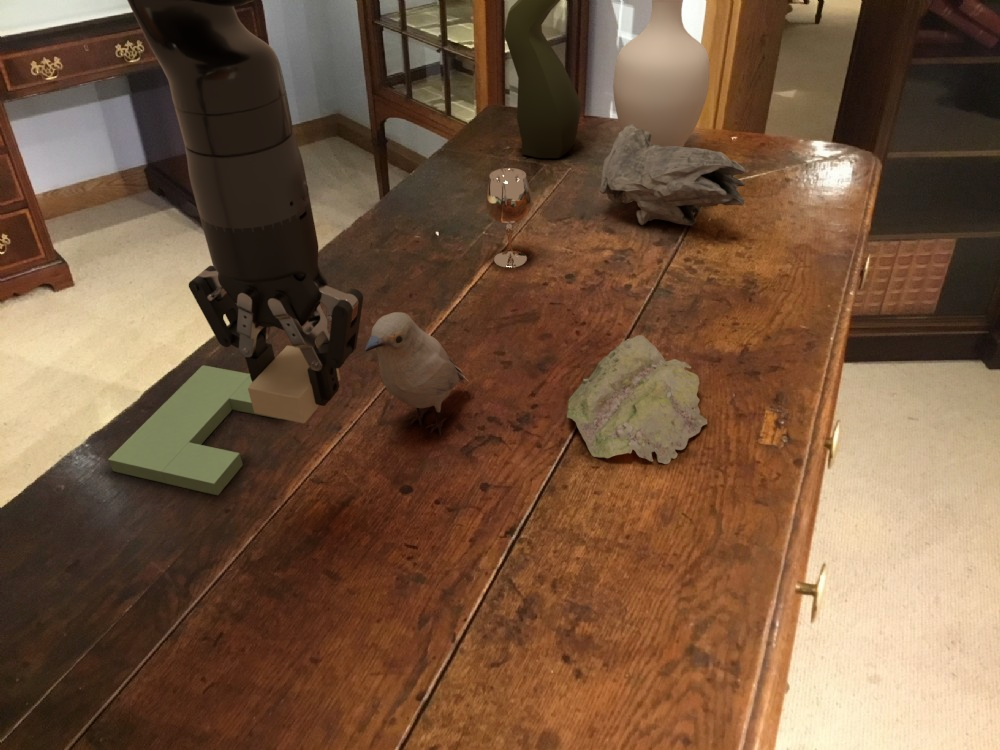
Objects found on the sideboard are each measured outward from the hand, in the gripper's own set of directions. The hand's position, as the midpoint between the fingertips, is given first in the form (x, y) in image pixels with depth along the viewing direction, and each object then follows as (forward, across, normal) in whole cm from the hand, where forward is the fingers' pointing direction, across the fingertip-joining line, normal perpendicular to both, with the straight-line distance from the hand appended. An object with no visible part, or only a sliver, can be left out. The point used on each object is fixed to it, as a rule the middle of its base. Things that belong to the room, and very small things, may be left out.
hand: (297, 392), depth 69 cm
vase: (+15, +13, +86) cm, 88 cm away
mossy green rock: (+15, +24, +23) cm, 36 cm away
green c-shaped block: (+14, -17, +7) cm, 24 cm away
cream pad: (0, 0, 0) cm, 0 cm away
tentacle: (+15, -6, +86) cm, 88 cm away
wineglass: (+15, +1, +50) cm, 52 cm away
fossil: (+15, +19, +67) cm, 71 cm away
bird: (+15, +4, +15) cm, 21 cm away
